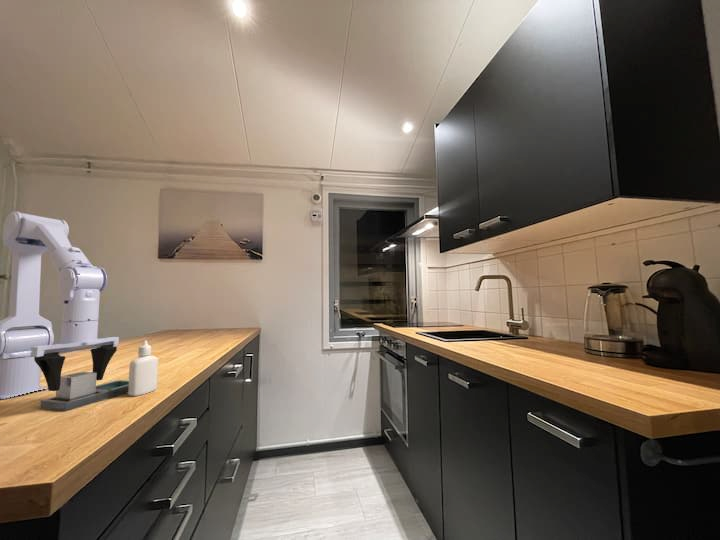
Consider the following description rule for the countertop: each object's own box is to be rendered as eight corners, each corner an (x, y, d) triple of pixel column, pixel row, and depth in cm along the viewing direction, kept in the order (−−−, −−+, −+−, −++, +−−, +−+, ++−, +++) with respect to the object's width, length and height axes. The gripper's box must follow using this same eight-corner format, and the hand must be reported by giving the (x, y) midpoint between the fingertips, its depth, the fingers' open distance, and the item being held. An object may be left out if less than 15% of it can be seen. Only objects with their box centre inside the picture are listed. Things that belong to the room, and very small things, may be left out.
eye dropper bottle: (126, 393, 67) (129, 341, 68) (155, 388, 71) (157, 338, 72) (129, 398, 64) (131, 343, 65) (159, 391, 68) (161, 340, 69)
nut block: (55, 406, 60) (57, 376, 61) (81, 399, 64) (83, 371, 65) (69, 408, 59) (71, 377, 59) (95, 400, 63) (96, 371, 64)
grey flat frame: (40, 408, 59) (40, 399, 59) (119, 386, 73) (119, 379, 74) (65, 411, 57) (66, 402, 57) (142, 388, 71) (142, 381, 71)
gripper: (48, 324, 55) (43, 397, 54) (128, 318, 69) (126, 376, 68) (26, 324, 57) (20, 394, 56) (108, 318, 71) (105, 375, 70)
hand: (76, 384), depth 62 cm, fingers open, 7 cm apart
